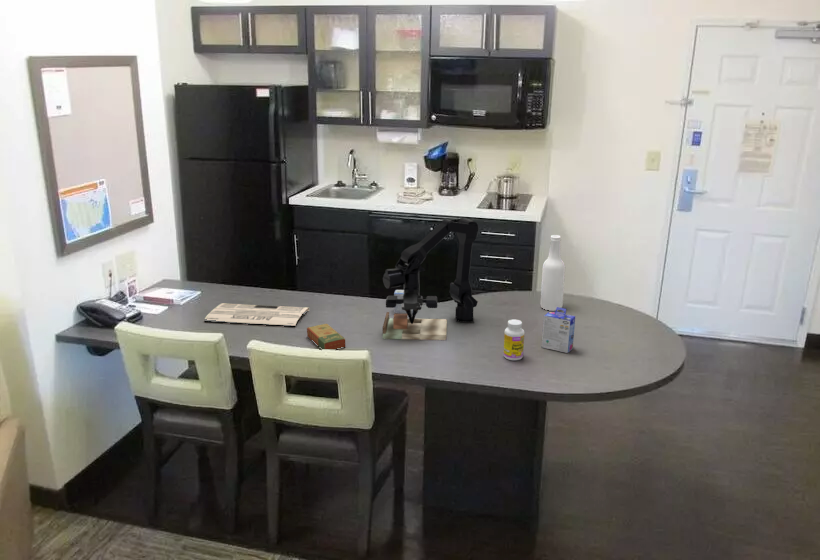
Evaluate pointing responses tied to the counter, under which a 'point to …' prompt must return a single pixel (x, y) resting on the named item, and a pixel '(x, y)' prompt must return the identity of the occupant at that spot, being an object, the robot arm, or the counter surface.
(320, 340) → the carton
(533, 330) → the counter surface
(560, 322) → the ink cartridge box
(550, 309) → the alcohol
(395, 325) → the block
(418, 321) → the trap board
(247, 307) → the newspaper
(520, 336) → the supplement bottle
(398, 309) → the medicine box
